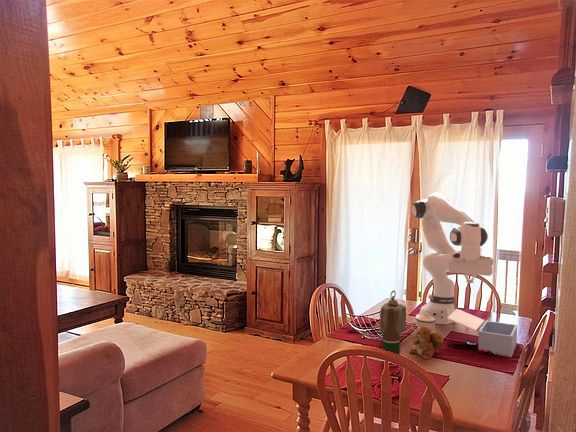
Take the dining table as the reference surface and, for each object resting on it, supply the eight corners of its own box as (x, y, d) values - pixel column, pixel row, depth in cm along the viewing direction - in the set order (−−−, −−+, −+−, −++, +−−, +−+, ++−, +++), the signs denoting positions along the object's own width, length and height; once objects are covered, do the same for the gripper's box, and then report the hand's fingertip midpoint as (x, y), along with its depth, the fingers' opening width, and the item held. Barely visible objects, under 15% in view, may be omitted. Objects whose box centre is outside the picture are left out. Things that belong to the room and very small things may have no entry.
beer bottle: (396, 368, 193) (397, 312, 191) (378, 365, 197) (379, 310, 195) (402, 362, 199) (402, 308, 198) (385, 359, 204) (385, 306, 202)
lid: (447, 316, 220) (446, 319, 220) (478, 330, 212) (477, 332, 213) (457, 307, 236) (456, 309, 236) (485, 319, 229) (485, 322, 229)
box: (511, 357, 205) (512, 336, 205) (478, 351, 213) (478, 331, 212) (516, 344, 222) (517, 325, 221) (485, 339, 230) (486, 320, 229)
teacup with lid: (434, 333, 239) (435, 311, 238) (435, 339, 230) (436, 316, 229) (410, 332, 242) (411, 310, 241) (411, 337, 233) (411, 315, 232)
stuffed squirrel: (407, 352, 212) (407, 324, 211) (432, 348, 217) (433, 321, 216) (421, 360, 202) (421, 331, 202) (447, 355, 207) (447, 327, 207)
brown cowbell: (389, 334, 238) (389, 287, 236) (406, 337, 233) (407, 288, 232) (379, 342, 226) (380, 292, 224) (397, 345, 221) (398, 294, 219)
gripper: (494, 255, 222) (493, 284, 223) (451, 252, 233) (450, 279, 234) (492, 257, 217) (491, 286, 218) (448, 254, 228) (447, 281, 229)
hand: (469, 282), depth 226 cm, fingers closed
